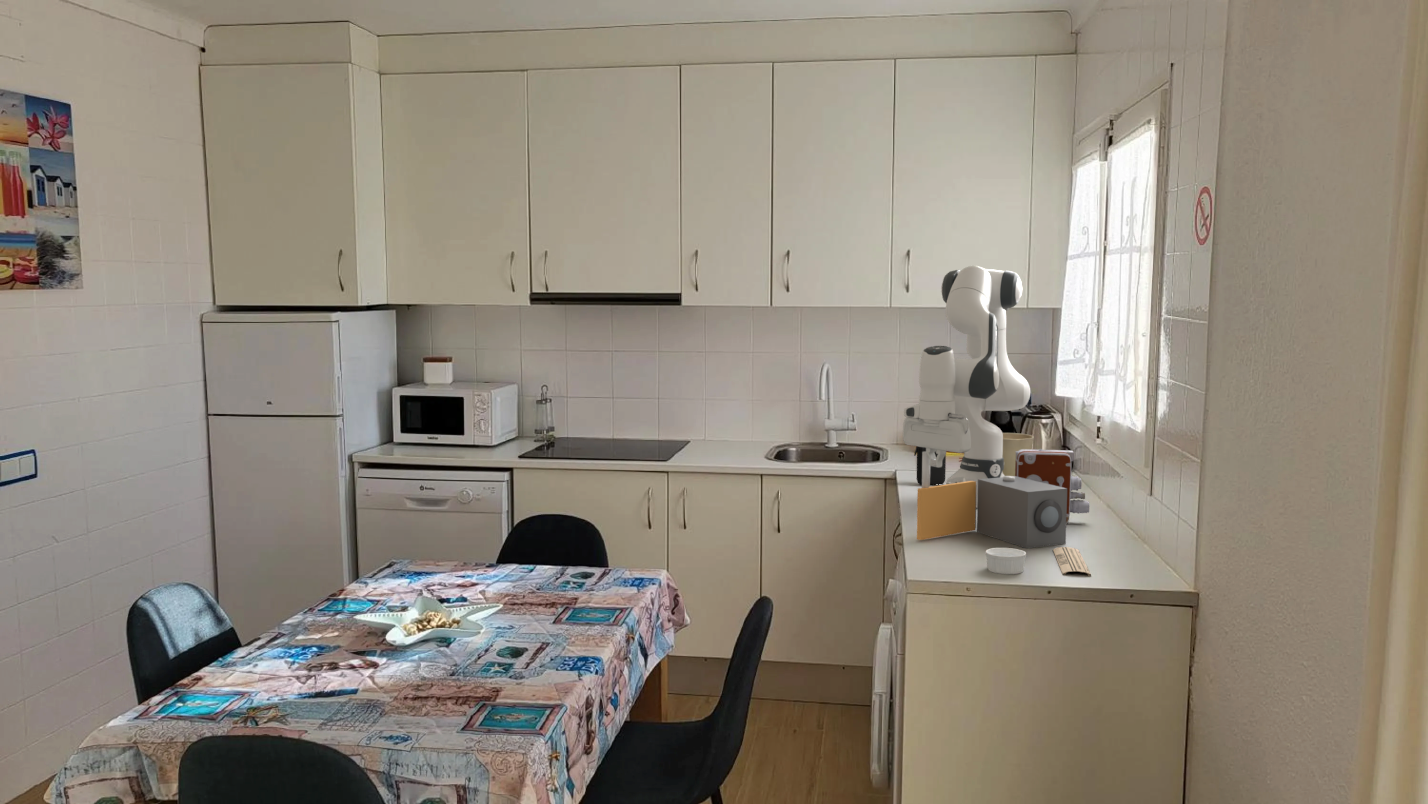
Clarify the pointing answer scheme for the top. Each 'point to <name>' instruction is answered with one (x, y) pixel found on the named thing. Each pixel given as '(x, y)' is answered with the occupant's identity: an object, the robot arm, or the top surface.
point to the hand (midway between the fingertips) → (935, 466)
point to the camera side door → (944, 506)
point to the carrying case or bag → (935, 472)
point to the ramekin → (1005, 560)
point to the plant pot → (1014, 449)
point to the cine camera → (1052, 474)
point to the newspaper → (1070, 560)
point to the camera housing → (1022, 511)
